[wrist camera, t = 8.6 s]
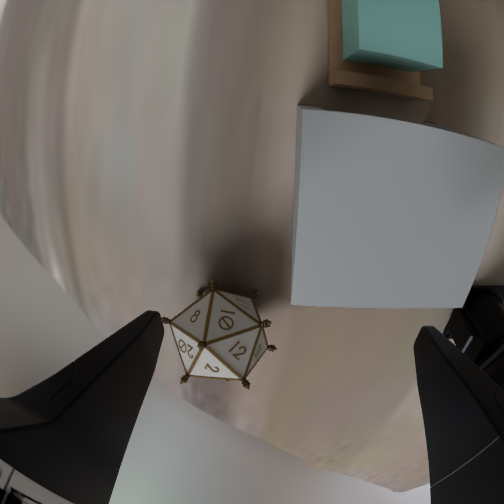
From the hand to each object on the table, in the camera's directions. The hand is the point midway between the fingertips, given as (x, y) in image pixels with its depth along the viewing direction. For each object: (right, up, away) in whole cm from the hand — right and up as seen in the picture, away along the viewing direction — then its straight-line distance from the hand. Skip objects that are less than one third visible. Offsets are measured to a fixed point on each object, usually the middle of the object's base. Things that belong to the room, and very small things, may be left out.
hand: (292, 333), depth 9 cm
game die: (-3, -2, +17) cm, 17 cm away
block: (+6, +16, +4) cm, 17 cm away
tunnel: (+7, +8, +10) cm, 14 cm away
